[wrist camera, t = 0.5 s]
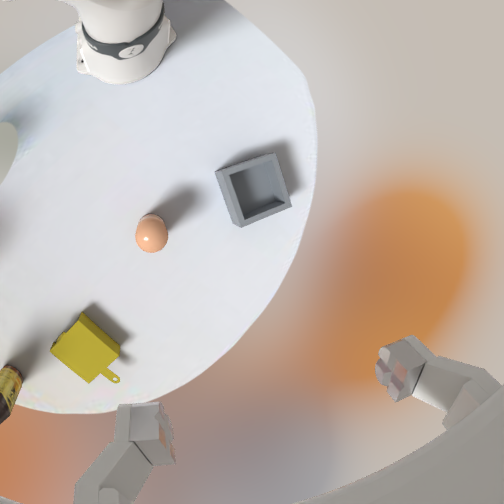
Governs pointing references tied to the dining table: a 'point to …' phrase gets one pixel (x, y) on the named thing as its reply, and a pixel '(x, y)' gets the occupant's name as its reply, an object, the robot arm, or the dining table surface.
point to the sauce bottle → (8, 390)
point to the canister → (151, 233)
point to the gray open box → (253, 189)
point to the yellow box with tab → (87, 350)
